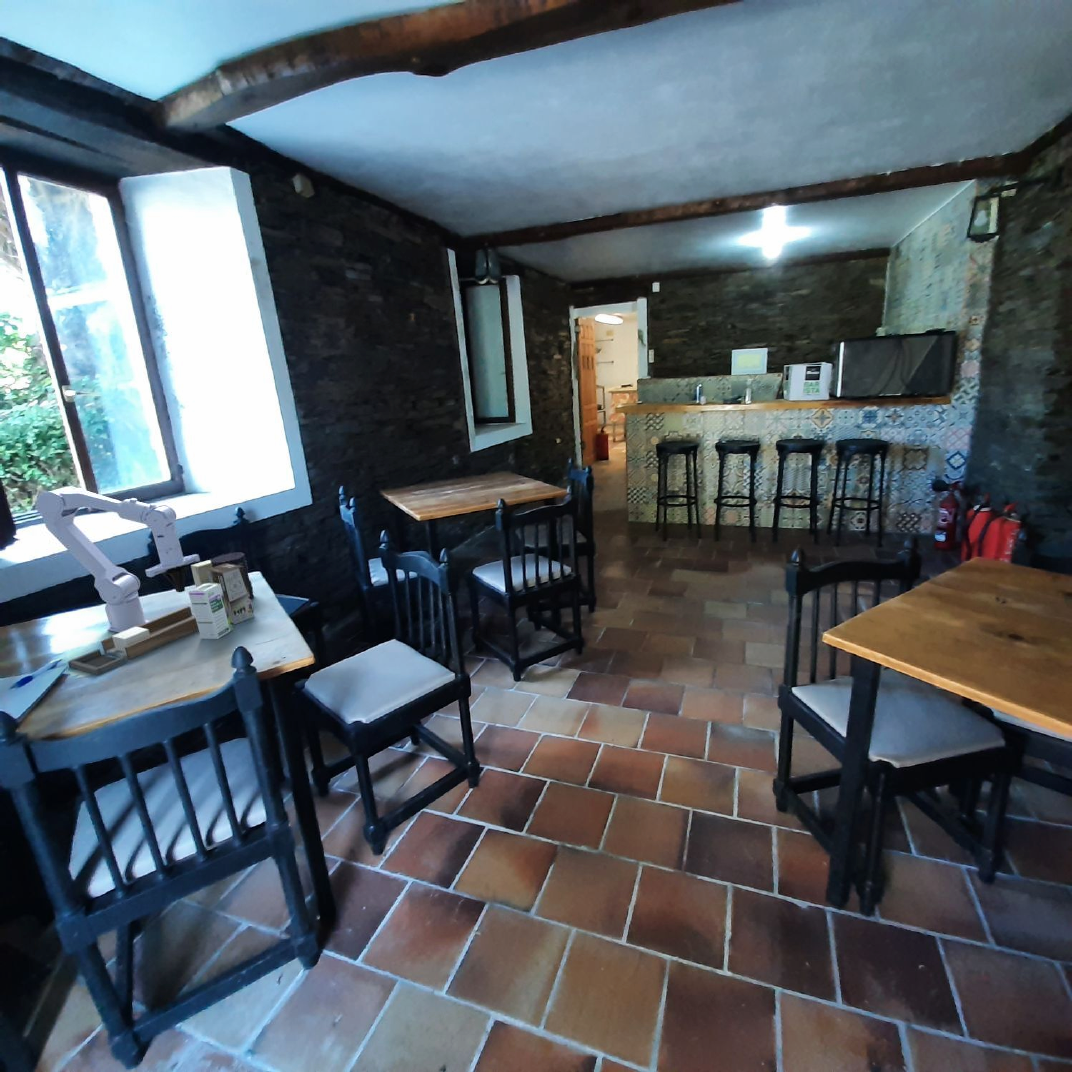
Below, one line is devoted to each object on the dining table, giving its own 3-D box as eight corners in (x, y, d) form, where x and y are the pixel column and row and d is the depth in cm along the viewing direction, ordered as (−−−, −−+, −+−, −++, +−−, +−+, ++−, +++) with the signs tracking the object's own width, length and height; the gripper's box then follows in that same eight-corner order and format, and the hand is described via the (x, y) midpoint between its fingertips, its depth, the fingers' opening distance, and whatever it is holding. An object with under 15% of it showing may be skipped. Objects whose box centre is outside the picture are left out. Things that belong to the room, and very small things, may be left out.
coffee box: (255, 616, 166) (244, 565, 161) (234, 624, 160) (222, 573, 156) (238, 611, 170) (227, 562, 166) (218, 619, 165) (205, 569, 161)
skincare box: (205, 602, 180) (196, 567, 177) (198, 600, 183) (189, 565, 179) (224, 595, 185) (216, 560, 182) (217, 593, 188) (209, 559, 184)
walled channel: (104, 652, 148) (100, 641, 147) (190, 616, 169) (187, 606, 168) (130, 659, 143) (126, 647, 142) (216, 621, 164) (213, 610, 163)
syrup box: (218, 639, 151) (205, 590, 147) (200, 639, 153) (187, 590, 149) (233, 630, 157) (221, 582, 153) (215, 629, 158) (203, 582, 154)
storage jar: (231, 608, 173) (220, 563, 169) (214, 603, 178) (203, 560, 174) (260, 597, 181) (251, 554, 177) (244, 592, 186) (234, 550, 182)
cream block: (116, 649, 148) (111, 636, 147) (139, 639, 153) (135, 626, 152) (128, 652, 145) (124, 639, 144) (152, 642, 151) (148, 629, 149)
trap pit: (69, 666, 142) (67, 661, 141) (99, 654, 148) (97, 649, 147) (97, 675, 136) (95, 670, 136) (127, 661, 142) (125, 656, 142)
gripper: (151, 556, 152) (164, 602, 156) (201, 541, 164) (212, 583, 168) (136, 554, 155) (149, 599, 159) (186, 540, 167) (197, 581, 171)
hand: (180, 591), depth 164 cm, fingers closed
